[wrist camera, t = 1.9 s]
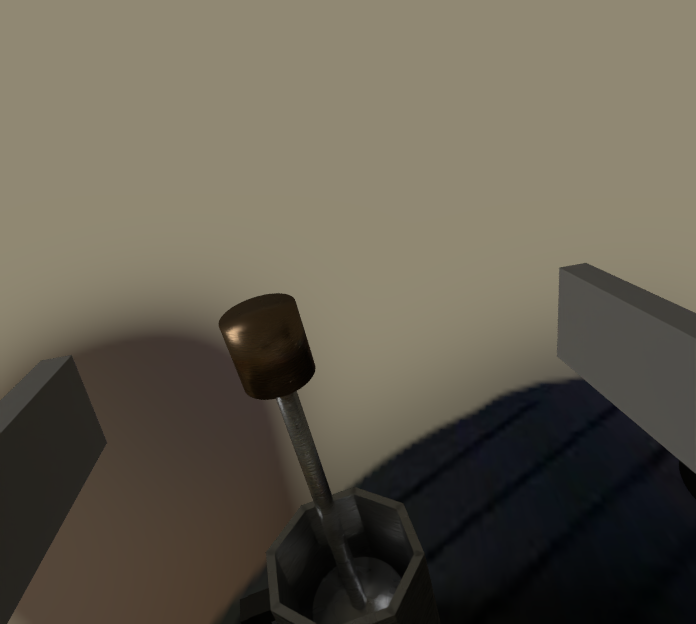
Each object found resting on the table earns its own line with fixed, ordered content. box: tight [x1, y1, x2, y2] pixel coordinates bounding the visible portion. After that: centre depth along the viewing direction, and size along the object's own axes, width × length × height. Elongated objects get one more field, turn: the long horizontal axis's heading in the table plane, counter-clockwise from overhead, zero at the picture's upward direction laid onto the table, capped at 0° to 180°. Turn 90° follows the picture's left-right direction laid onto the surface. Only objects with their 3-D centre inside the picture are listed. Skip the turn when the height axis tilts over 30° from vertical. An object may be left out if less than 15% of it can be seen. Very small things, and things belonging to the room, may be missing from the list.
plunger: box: [219, 293, 401, 624], centre depth 30 cm, size 7×7×25 cm
